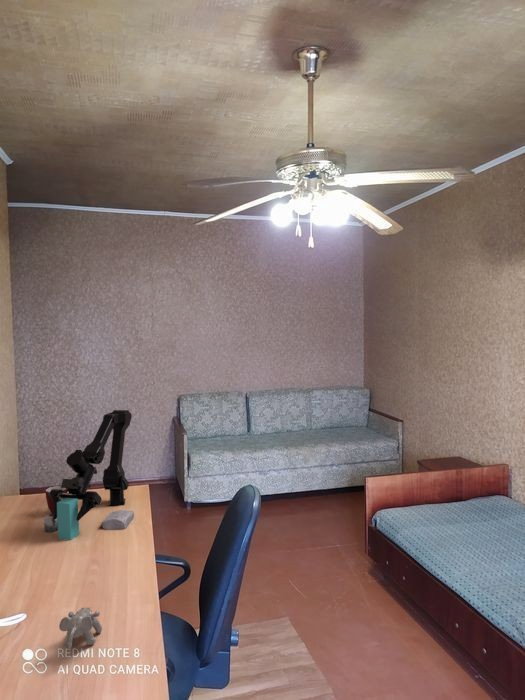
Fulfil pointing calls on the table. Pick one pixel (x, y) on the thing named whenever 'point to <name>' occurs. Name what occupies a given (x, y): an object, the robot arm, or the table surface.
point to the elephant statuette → (80, 626)
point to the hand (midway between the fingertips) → (65, 519)
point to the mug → (51, 501)
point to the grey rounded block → (50, 524)
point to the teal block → (67, 518)
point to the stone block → (118, 519)
